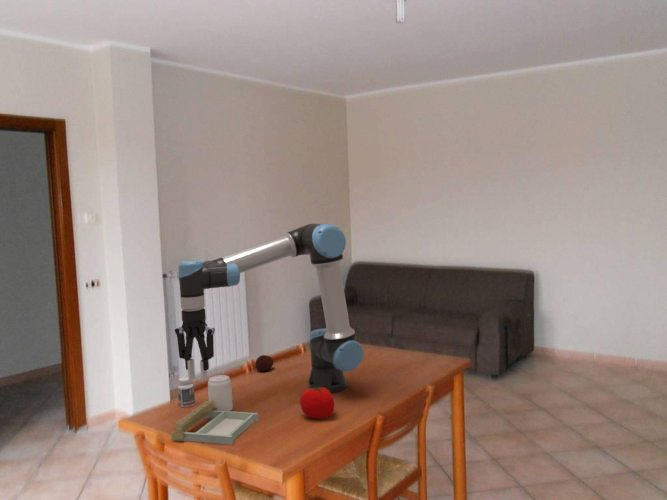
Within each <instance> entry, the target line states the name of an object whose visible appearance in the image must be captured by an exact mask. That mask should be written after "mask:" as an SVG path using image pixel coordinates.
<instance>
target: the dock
mask: <svg viewBox="0 0 667 500" xmlns="http://www.w3.org/2000/svg"><path fill="white" fill-rule="evenodd" d="M213 418H214V419H213ZM202 419H211V420H209V421H208V422H207V423H206V424H205V425H203V426H202V427H200V429H198V430H197V431H196V432H189V431H185V432H184V435H185V438H184V439H179V438H172V432H173V431H174V430H173V431H171V432H170V435H171V436H170V438H171V441H178V442H180V441H181V442H190V441H193V442H192V443H194V441H195V443H202V442H204V443H205V444H214V445H215V444H216V445H217V444H218V445H228V446H229V445H230V446H232V445H234V443H235V442H234V441H235V440H237V438H238V437H240V436H241V435H242V434H243V433H244V431H246V430H247V429H249V427H250V426H252V425H253V424H254V423H255V422H259V412H247V411H246V412H244V411H233V410H231V411H216V410H213V411H211V412H210V413H209V414H207V415H206V416H205V417H203V418H202Z"/></svg>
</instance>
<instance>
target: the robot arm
mask: <svg viewBox="0 0 667 500" xmlns="http://www.w3.org/2000/svg"><path fill="white" fill-rule="evenodd" d="M346 241H347V239H346V236H345V234H344V232H343V230H341V229H340V227H338V226H337V225H334V224H331V223H308V224H305V225H303V226H299V227H298V228H295V229H293V230H290V231H288V232H284V234H283V236H281V237H277V238H274V239H272V240H269V241H266V242H263V243H260V244H257V245H254V246H251V247H249V248H245V249H243V250H239V251H236V252H233V253H231V254H228V255H225V256H221V257H219V258H215V259H212V260H205V261H201V260H197V259H196V260H184V261H181V262H179V264H178V276H177V277H178V281H179V282H178V283H179V292H180V293H179V294H180V309H181V312H180V313H181V321H182V325H181V326H180V327H177V328H175V329H174V332H175V335H176V338H177V340H176V341H177V347H178V348H177V349H178V358H179V359H183V360H184V361H185V362H184V363H185V369H186V371H187V372H188V373H187V374H188V375H187V377H189V381H191V380H192V381H193V380H194V379H196V374H195V373H196V372H195V371H196V370H195V360H194V358H193V345H194V339H195V340H196V341H197V345H198V348H199V353H200V357H201V359H200V361H199V366H200V369H199V370H200V379H201V382H204V381H206V380H208V370H209V369H210V365H209V362H210V361H209V360H212V359H213V358H214V356H215V352H214V351H215V350H214V348H215V347H214V346H215V345H214V334H215V328H214V327H210V326H208V324H207V322H206V320H207V317H206V316H207V315H206V309H205V306H206V303H205V302H206V300H205V290H208V289H217V288H227V287H228V288H230V287H234V286H237V285H239V283H240V279H241V274H242V273H245V272H248V271H250V270H254V269H256V268H259V267H262V266H264V265H268V264H270V263H272V262H276V261H279V260H282V259H285V258H287V257H291V258H295V257H299V256H305V255H306V256H307V255H309V258H310V259H309V260H310V264H311V265H312V266H313V267H315V268H316V274H317V280H318V285H319V287H318V288H319V291H320V293H319V294H320V297H321V304H322V308H323V315H324V319H325V320H324V322H325V328H318V329H314V330H312V331H310V333H309V345H310V362H311V370H310V373H309V377H308V381H307V389H310V388H316V387H320V388H326V389H328V390H329V391H330V393H331V394H332V393H338V392H340V391H343V390H345V389H346V388H347V384H348V383H347V378H346V376H345V373H344V372H352V371H354V370H356V369H357V368H358V366H360V364H361V363H362V361H363V359H364V349H363V348H364V347H363V346H362V345H361V343H360V342H359V341H357V336H356V331H355V329H354V328H352V327H351V325H350V318H349V313H348V312H349V311H348V307H347V301H346V295H345V287H344V283H343V276H342V269H341V262H342V261H343V260H344V255H343V253H344V250H345V248H346V245H347V243H346ZM184 333H185V334H184ZM205 334H206V336H205ZM205 338H206V341H205Z"/></svg>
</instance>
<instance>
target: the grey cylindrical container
mask: <svg viewBox="0 0 667 500" xmlns="http://www.w3.org/2000/svg"><path fill="white" fill-rule="evenodd" d="M232 389H233V388H232V380H231V379H230V376H229V375H223V374H222V375H221V374H220V375H218V374H217V375H214V376H211V377H209V378H208V381H207V390H208V391H207V393H208V401H214V407H217V411H233V391H232Z"/></svg>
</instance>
